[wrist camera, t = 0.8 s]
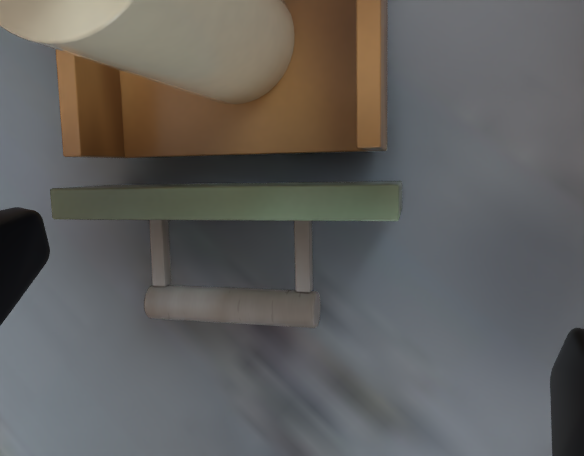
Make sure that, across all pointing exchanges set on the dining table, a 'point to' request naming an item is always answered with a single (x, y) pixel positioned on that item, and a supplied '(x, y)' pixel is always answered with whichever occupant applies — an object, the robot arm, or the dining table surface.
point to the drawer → (239, 141)
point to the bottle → (168, 40)
